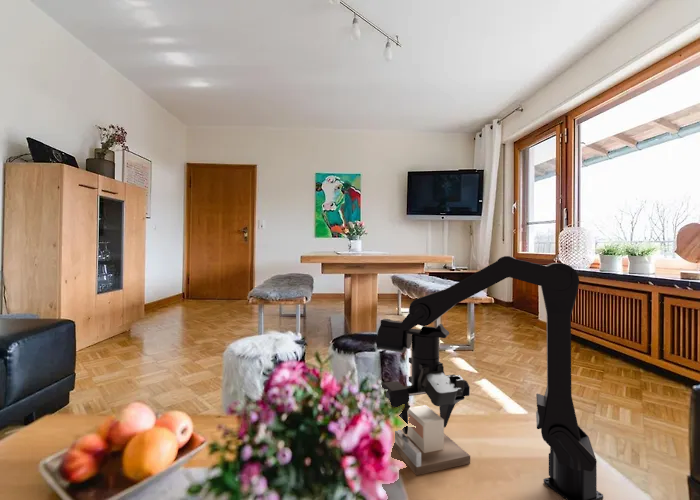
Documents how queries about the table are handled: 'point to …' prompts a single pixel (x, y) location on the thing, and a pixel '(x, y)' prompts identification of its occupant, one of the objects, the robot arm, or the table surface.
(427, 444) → the carton
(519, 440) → the table surface
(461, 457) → the shelf board
